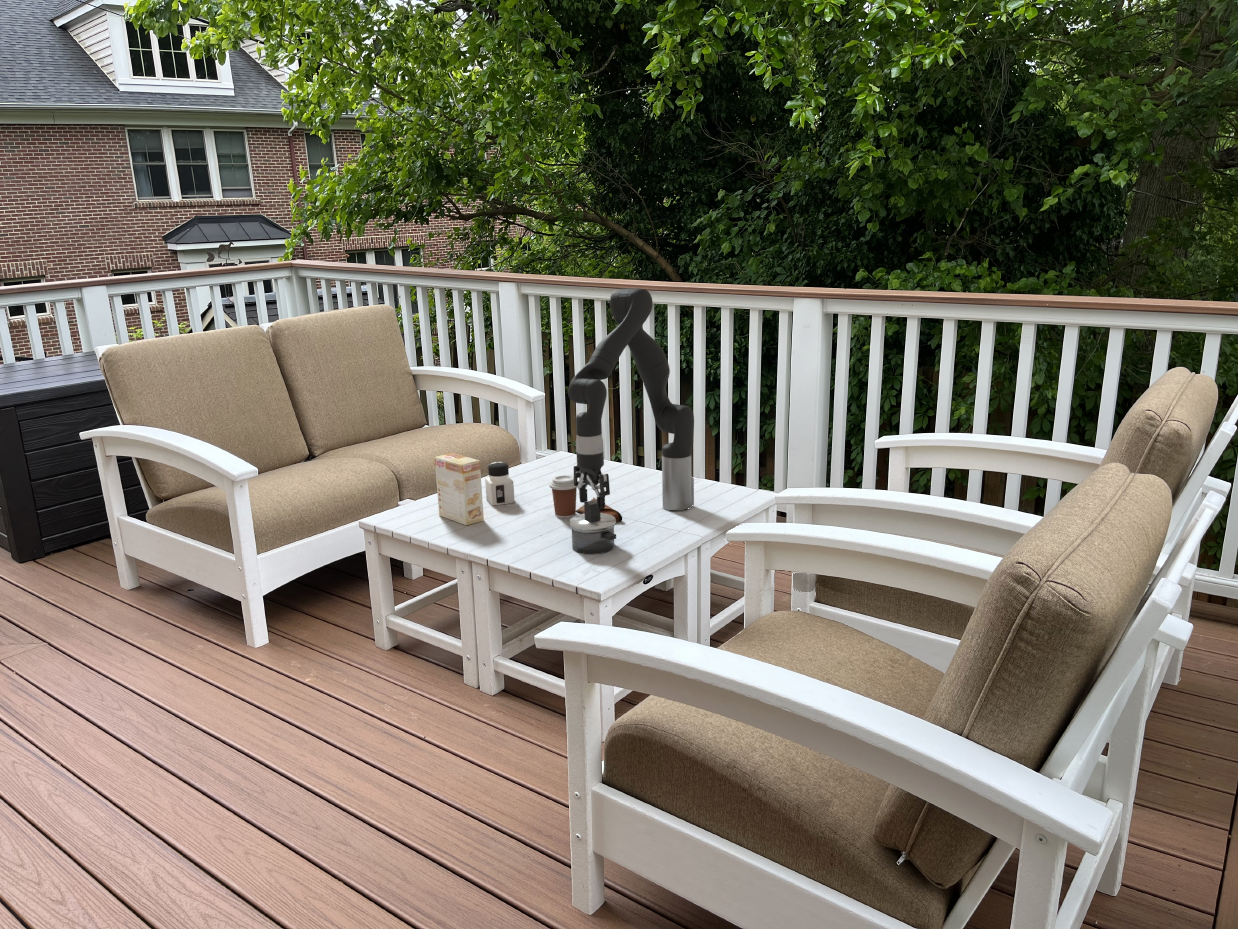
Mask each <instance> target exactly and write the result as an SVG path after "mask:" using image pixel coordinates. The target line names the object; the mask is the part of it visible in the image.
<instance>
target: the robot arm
mask: <svg viewBox="0 0 1238 929" xmlns="http://www.w3.org/2000/svg"><path fill="white" fill-rule="evenodd" d="M609 298H610V299H609V307H610V312H611V314H612V317H613V319H614V322H616V324H617V326H616V327H615V328H614V329H613V330H612V331H611V332H609V334H607V335H606V336H605V337H604V338H602V340H601V341H600V342H599V343H598V344H597V345H596V347H595V348H594V351H593V353H592V354H591V356H590V358H589V360H588V362H587V363H586V364H585V365H584V366H583V367H582V368H581V369H580V370H579V371H578V372H577V373H576V374H575V375H574V376H573V378H572V379H571V381H570V382H569V385H568V387H567V388H568V389H567V394H568V398H569V400H571V401H572V403H576V404H580V405H588V409H587V411H583V412H579V413H578V414H576V416H575V431H576V432H575V434H576V439H575V450H576V452H575V454H576V465H573V477H574V486H577V490H578V492H579V493H578V494H579V495H578V496H579V502H580V503H582V504H584V502H588V489H587V488H588V486H589V487H591V490H592V491H594V493H595V495H596V499H597V509H599V510H601V509H604V508H605V504H606V496H610V494H611V488H610V475H609V473H602V468H603V467H604V465H605V460H604V459H605V456H604V439H603V432H602V431H603V429H602V418H603V414H604V407H605V403H606V400H607V396H608V395H607V394H608V392H607V391H608V390H607V387H606V385H605V383H604V381H602V380H606V379H608V378H609V377H610V376H611V374H612V372H613V370H614V369H615V367H616V365H617V363H618V361H619V360H620V357H621V355H622V353H623V352H624V350H625V349H626V347H628V349H629V351H630V353H631V356H632V358H633V361H634V364H635V366H636V369H637V371H638V374H639V376H640V378H641V380H642V382H643V383H642V384H643V386H644V389H645V392H646V394H647V397H648V399H649V403H650V408H651V411H652V414H653V418H654V421H655V425H656V426H657V428H658V429H659V430H660V431H661V432H663V433H668V434H671V435H673V441H672V442H669V443H665V444H663V446H662V447H661V478H662V479H661V484H662V485H661V486H662V492H661V493H662V508H663V509H664V510H666V511H670V510H683V511H685V510H684V509H688V508H690V507H691V506H692V505H694V506H695V488H694V487H695V480H694V479H695V478H694V477H693V476H692V449H693V445H694V435H695V434H694V431H695V430H694V429H695V416H694V411H693V408H691V407H689V406H687V405H684V404H683V405H682V404H676V403H672V402H671V401H670V398H669V396H668V393H667V384H668V381H669V377H670V373H671V370H670V363H669V362H668V358H667V357H666V354H665V351H664V350H663V348H662V346H661V344H659V343H658V342H657V341H656V340H655V339H654V338H653V337H651V335H650V334H649V333H647V331H645V330H644V329H643V327H642V326H643V325H644V324H645V322H646V321H647V320H648V318H649V316H650V315H651V313H652V309H653V306H654V304H653V303H654V302H653V297H652V294H651V293H650V292H649V291H648V290H647V289H645V288H635V287H634V288H631V287H630V288H618V289H615V290H613V292H612V293H611V295H610V297H609ZM692 507H693V506H692ZM692 507H691V508H692ZM691 508H690V509H691ZM688 510H689V509H688Z"/></svg>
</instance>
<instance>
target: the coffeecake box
mask: <svg viewBox="0 0 1238 929" xmlns="http://www.w3.org/2000/svg"><path fill="white" fill-rule="evenodd" d="M434 467H435V479H436V491H437V503H438V505H437V506H438V515H439V517H442V518H445V519H448V520H451V521H452V522H456V523H459V524H461V525H464V526H469V525H473V524H477V523H480V522H484V521H485V518H484V504H483V488H482V486H483V485H482V474H481V471H482V470H481V460H479V459H477V458H476V459H475V458H473V457H469V456H465V455H461V454H457V453H454V452H450V453H449V452H448V453H445V454H441V455H437V456H434Z"/></svg>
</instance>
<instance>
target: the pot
mask: <svg viewBox="0 0 1238 929" xmlns="http://www.w3.org/2000/svg"><path fill="white" fill-rule="evenodd" d="M615 525H616V524H615ZM615 525H614V526H613V527H611V528H609V529H605V530H600V531H581V530H577V529H574V528H572V527H571V526H570V525H569V526H570V529H571V543H572V544H571V546H572V550H573V551H575V553H579V554H584V555H601V554H606V553H608V552H610V551H612V550H614V548H615V540H616V539H617V534H616V533H615Z"/></svg>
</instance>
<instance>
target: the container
mask: <svg viewBox="0 0 1238 929" xmlns="http://www.w3.org/2000/svg"><path fill="white" fill-rule="evenodd" d="M487 469H488V471H487V472H488V477H484V482H485V483H484V485H485V495H486V496H485V497H486V498H485V499H486V500H487V502H488V503H489V504H490V505H491V506H492V507H493V506H494V507H495V506H499V505H500V506H501V505H502V506H503V505H509V504H513V503H515V502H516V501H515V487H514V486H515V484H514V480H513V479H512V478H511V477H510V475H509V474H510V472H509V464H508V463H506V462H504V461H495V462H492V463H490V464H489V465H487Z"/></svg>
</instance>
